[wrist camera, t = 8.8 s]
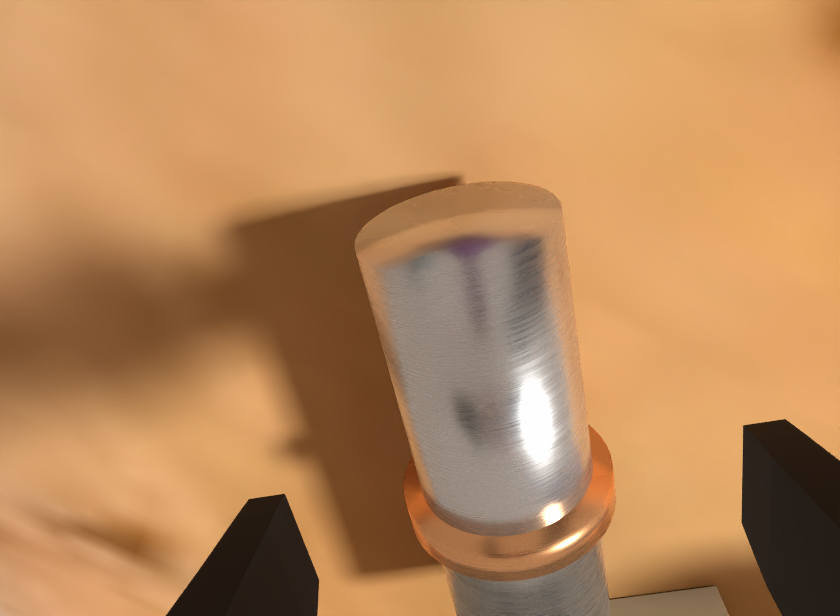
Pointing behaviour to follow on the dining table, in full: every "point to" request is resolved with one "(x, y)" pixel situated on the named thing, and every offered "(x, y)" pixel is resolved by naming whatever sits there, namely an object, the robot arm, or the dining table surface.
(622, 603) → the block
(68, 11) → the dining table surface
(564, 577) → the silver copper cylinder
